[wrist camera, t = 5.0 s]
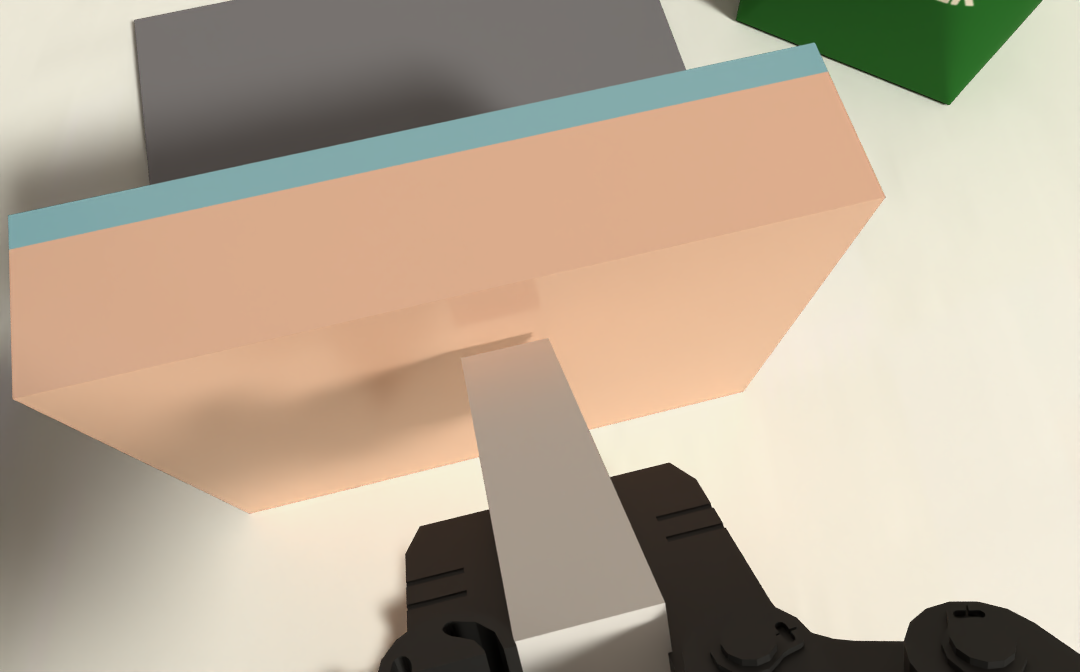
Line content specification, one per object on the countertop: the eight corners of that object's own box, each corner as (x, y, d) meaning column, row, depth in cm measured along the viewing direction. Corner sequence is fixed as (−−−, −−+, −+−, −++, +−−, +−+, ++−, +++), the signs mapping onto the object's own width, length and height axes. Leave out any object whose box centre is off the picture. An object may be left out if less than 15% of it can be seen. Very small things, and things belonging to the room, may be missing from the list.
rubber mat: (747, 246, 23) (751, 239, 23) (174, 380, 22) (167, 375, 22) (628, -69, 28) (629, -79, 27) (140, 29, 26) (134, 20, 26)
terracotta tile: (742, 392, 22) (885, 196, 13) (250, 514, 21) (12, 399, 12) (706, 289, 23) (814, 40, 14) (236, 401, 22) (7, 213, 13)
